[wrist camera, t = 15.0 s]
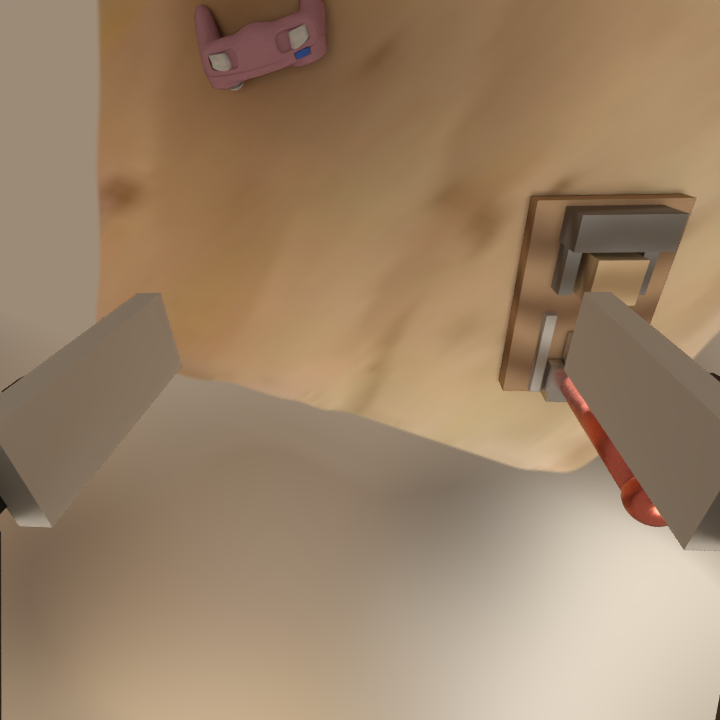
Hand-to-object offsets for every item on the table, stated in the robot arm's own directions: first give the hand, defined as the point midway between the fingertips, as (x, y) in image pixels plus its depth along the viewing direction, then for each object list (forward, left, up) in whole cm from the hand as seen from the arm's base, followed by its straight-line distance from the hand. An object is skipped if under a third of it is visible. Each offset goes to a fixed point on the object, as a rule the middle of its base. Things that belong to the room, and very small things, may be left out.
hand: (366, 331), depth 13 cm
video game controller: (-11, -9, -29) cm, 32 cm away
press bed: (+11, +20, -29) cm, 37 cm away
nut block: (+7, +20, -27) cm, 34 cm away
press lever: (+17, +20, -26) cm, 37 cm away
